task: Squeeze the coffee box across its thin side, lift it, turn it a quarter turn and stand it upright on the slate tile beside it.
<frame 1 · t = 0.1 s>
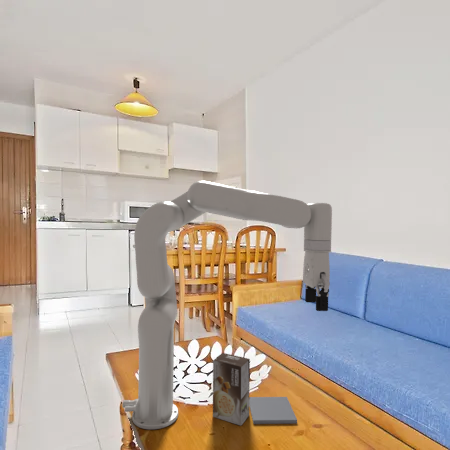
hand: (315, 306, 95), 31 cm above the table, tool pointing down, fingers open, 9 cm apart
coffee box: (230, 416, 94), on the table
slate tile: (271, 411, 97), on the table
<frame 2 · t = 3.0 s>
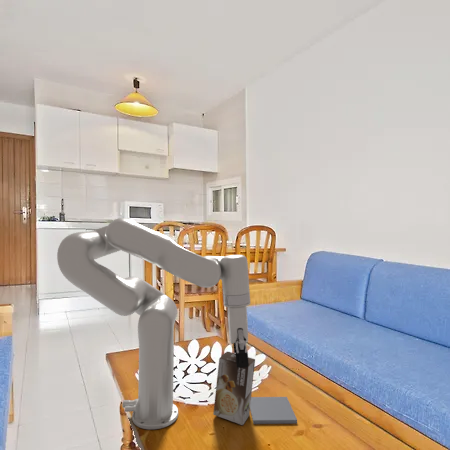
hand: (241, 359, 94), 16 cm above the table, tool pointing down, fingers open, 9 cm apart
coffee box: (231, 415, 94), on the table, touching gripper
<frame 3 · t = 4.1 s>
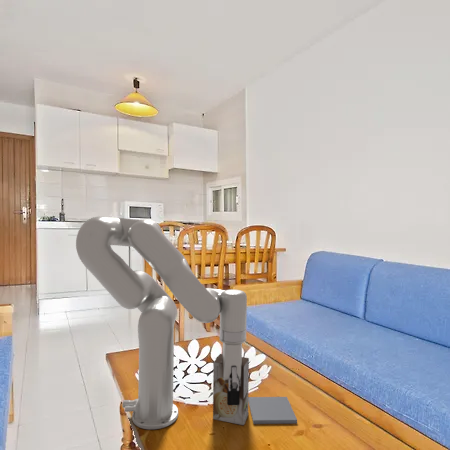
hand: (231, 395, 94), 6 cm above the table, tool pointing down, fingers open, 8 cm apart
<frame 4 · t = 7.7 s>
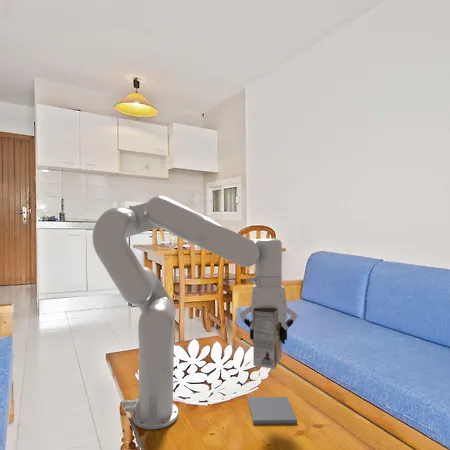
hand: (268, 341, 96), 20 cm above the table, tool pointing down, fingers closed on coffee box, 7 cm apart
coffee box: (267, 362, 96), point 15 cm above the table, touching gripper
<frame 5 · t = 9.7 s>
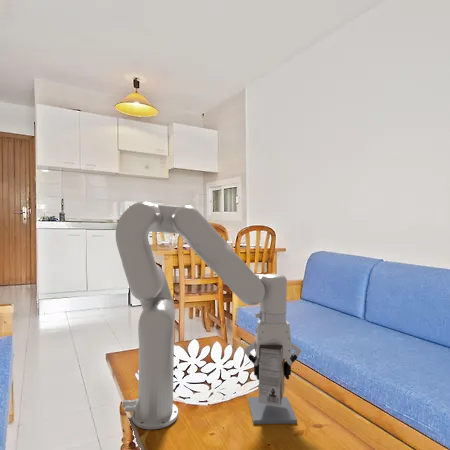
hand: (272, 377, 97), 10 cm above the table, tool pointing down, fingers closed on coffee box, 7 cm apart
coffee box: (271, 397, 97), point 4 cm above the table, touching gripper
when the fingers open (8 cm above the table, at t = 11.2 s): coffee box drops 1 cm, resting on slate tile.
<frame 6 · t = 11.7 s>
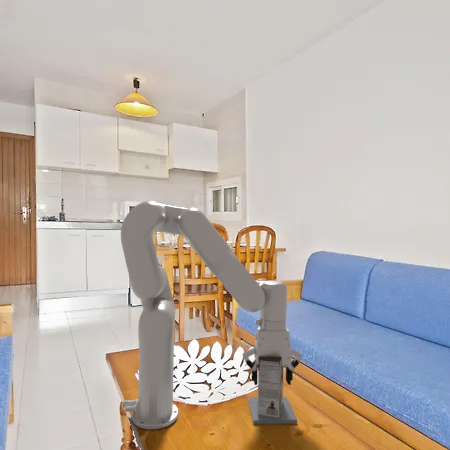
hand: (271, 382, 97), 8 cm above the table, tool pointing down, fingers open, 9 cm apart
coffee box: (270, 409, 96), point 1 cm above the table, touching slate tile
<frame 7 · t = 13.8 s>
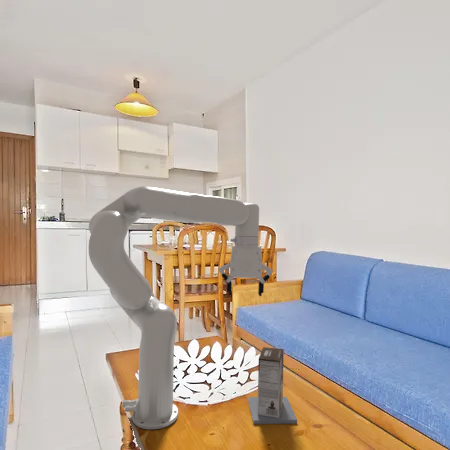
hand: (244, 294, 107), 31 cm above the table, tool pointing down, fingers open, 9 cm apart
nothing on the table moved.
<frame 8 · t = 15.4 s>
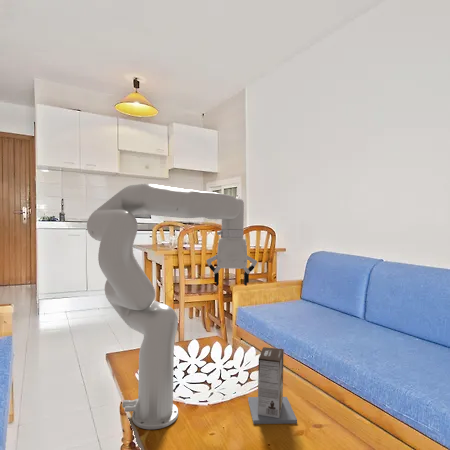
hand: (231, 284, 114), 33 cm above the table, tool pointing down, fingers open, 9 cm apart
nothing on the table moved.
at the end: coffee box inside the target area on the slate tile (0.4 cm from its centre), point 0.8 cm above the slate tile's base; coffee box tilted 0°; the gripper is holding nothing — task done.
